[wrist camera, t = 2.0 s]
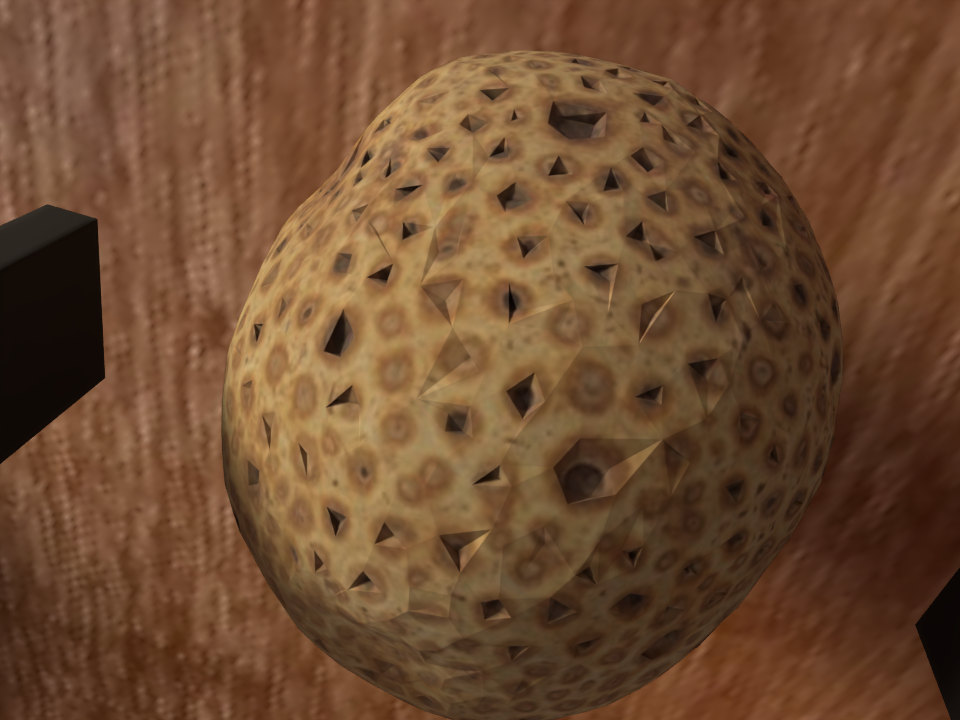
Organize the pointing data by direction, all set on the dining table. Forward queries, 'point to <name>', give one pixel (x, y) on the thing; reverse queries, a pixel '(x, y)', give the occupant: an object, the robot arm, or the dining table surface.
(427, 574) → the natural sponge
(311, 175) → the dining table surface
